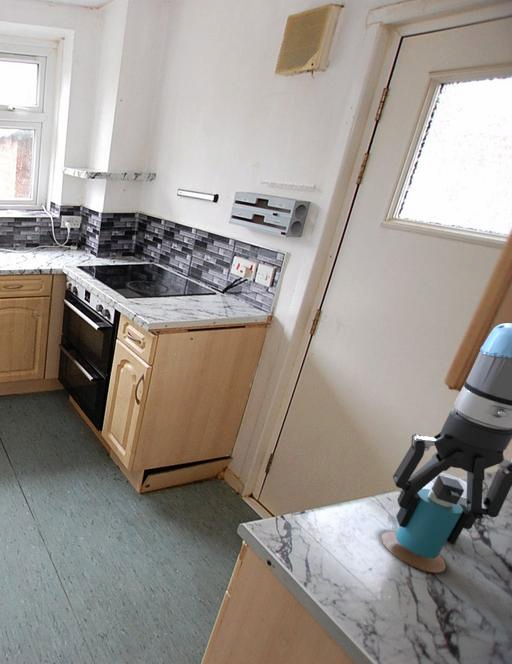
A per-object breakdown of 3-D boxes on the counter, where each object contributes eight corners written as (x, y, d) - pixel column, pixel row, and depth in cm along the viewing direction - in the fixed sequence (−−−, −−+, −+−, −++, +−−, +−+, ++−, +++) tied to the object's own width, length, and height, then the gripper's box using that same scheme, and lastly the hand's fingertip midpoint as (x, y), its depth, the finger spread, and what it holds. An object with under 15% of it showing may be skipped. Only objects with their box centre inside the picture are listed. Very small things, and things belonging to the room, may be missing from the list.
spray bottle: (392, 526, 86) (422, 464, 81) (432, 541, 84) (467, 477, 79) (400, 551, 81) (434, 486, 76) (444, 567, 78) (482, 501, 73)
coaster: (436, 546, 85) (436, 545, 85) (452, 581, 77) (453, 581, 77) (377, 525, 89) (377, 524, 89) (387, 557, 81) (387, 556, 81)
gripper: (414, 409, 74) (362, 520, 82) (580, 451, 66) (505, 570, 74) (403, 391, 80) (356, 496, 88) (553, 428, 72) (486, 540, 80)
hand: (424, 530), depth 81 cm, fingers closed on spray bottle, 6 cm apart
